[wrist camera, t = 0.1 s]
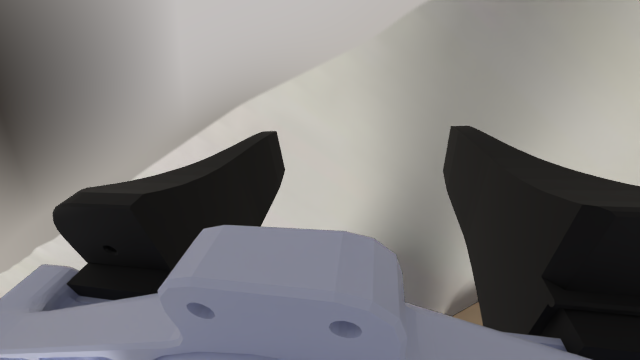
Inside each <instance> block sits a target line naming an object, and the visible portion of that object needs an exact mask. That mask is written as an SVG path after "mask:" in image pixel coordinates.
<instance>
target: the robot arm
mask: <svg viewBox="0 0 640 360" xmlns="http://www.w3.org/2000/svg"><path fill="white" fill-rule="evenodd" d="M284 172H285V168H284V163H283V159H282V154H281V150H280V145H279V141H278V136H277V132H276V131H269V132H261V133H258V134H256V135H253V136H251V137H249V138H247V139H245V140H243V141H241V142H239V143H237V144H236V145H234V146H232V147H230V148H228V149H226V150H223V151H221V152H219V153H217V154H215V155H213V156H211V157H208V158H206V159H204V160H201V161H199V162H196V163H193V164H191V165H188V166H185V167H182V168H179V169H176V170H172V171H169V172H166V173H162V174H159V175H155V176H151V177H147V178H142V179H137V180H133V181H128V182H122V183H117V184H110V185H104V186H97V187H90V188H86V189H82V190H80V191H78V192H77V193H75V194H74V195H73V196H71V197H70V198H68V199H67V200H65V201H64V202H62V203H61V204H60V205H58V206H56V207H55V209H54V211H53V221H54V224H55V226H56V228H57V230H58V231H59V232H60V234H61V235H62V236H63V237H64V238H65V239H66V240H67V242H68V243H69V244H70V245H71V246H72V247H73V248H74V249H75V250H76V251H77V252H78V253H79V254H80V255H81V257H82V258H83V259H84V260H85V261H86V262H87V263H88V264H87V265H86V266H85V267H83V268H82V269H81V270H80V271H78V270H76V269H74V268H72V267H67V266H58V265H48V264H44V265H41V266H39V267H38V268H37V269H36V270H35V271H33V272H32V273H31V274H30V275H29V276H27V277H26V278H25V279H24V280H22V281H21V282H20V283H19V284H18V285H16V286H15V287H14V288H13V289H11V290H10V291H9V292H8V293H7V294H5V295H4V296H3V297H2V298H1V299H0V360H640V186H635V185H630V184H625V183H621V182H617V181H612V180H608V179H604V178H600V177H596V176H593V175H589V174H585V173H581V172H578V171H574V170H571V169H568V168H565V167H562V166H559V165H556V164H553V163H550V162H547V161H544V160H542V159H539V158H537V157H534V156H532V155H529V154H527V153H525V152H523V151H520V150H518V149H516V148H514V147H511V146H509V145H507V144H505V143H503V142H501V141H499V140H497V139H495V138H493V137H491V136H489V135H488V134H486V133H484V132H482V131H480V130H477V129H475V128H473V127H470V126H451V129H450V135H449V140H448V146H447V152H446V157H445V163H444V169H443V173H444V178H445V184H446V188H447V192H448V195H449V198H450V200H451V203H452V206H453V208H454V211H455V214H456V216H457V219H458V222H459V224H460V227H461V230H462V232H463V235H464V239H465V242H466V245H467V249H468V254H469V258H470V262H471V266H472V271H473V276H474V281H475V285H476V290H477V295H478V301H479V306H480V312H481V317H482V323H483V326H481V325H478V324H474V323H471V322H468V321H465V320H461V319H458V318H455V317H452V316H448V315H445V314H442V313H439V312H435V311H432V310H429V309H425V308H422V307H419V306H416V305H412V304H409V303H406V302H405V299H404V286H403V273H402V270H401V268H400V265H399V262H398V259H397V256H396V254H395V253H393V252H392V251H391V250H389V249H388V248H386V247H385V246H384V245H382V244H381V243H380V242H378V241H377V240H376V239H374V238H372V237H367V236H363V235H359V234H355V233H351V232H347V231H334V230H315V229H296V228H277V227H261V225H262V223H263V220H264V218H265V216H266V214H267V212H268V210H269V208H270V206H271V204H272V202H273V200H274V198H275V196H276V194H277V192H278V190H279V188H280V185H281V182H282V179H283V175H284Z"/></svg>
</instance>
